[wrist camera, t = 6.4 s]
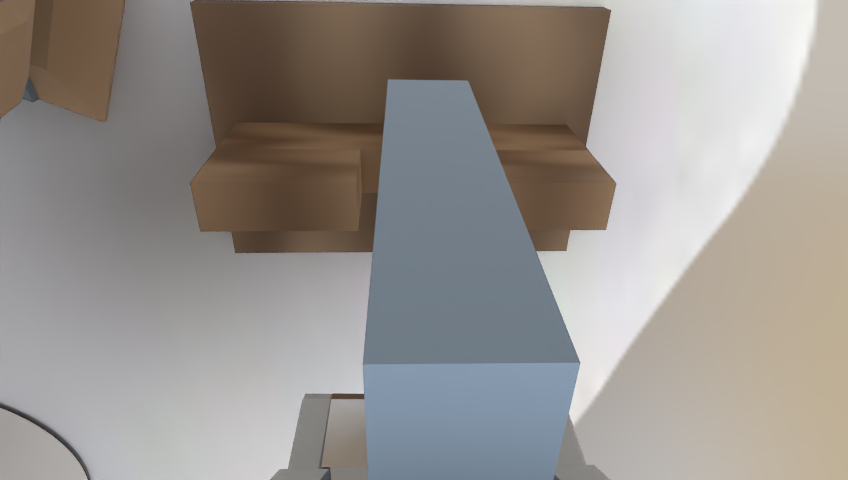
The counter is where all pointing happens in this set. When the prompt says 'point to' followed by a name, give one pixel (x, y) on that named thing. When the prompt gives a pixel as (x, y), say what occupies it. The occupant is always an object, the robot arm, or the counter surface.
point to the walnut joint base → (365, 112)
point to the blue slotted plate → (457, 306)
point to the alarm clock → (59, 53)
